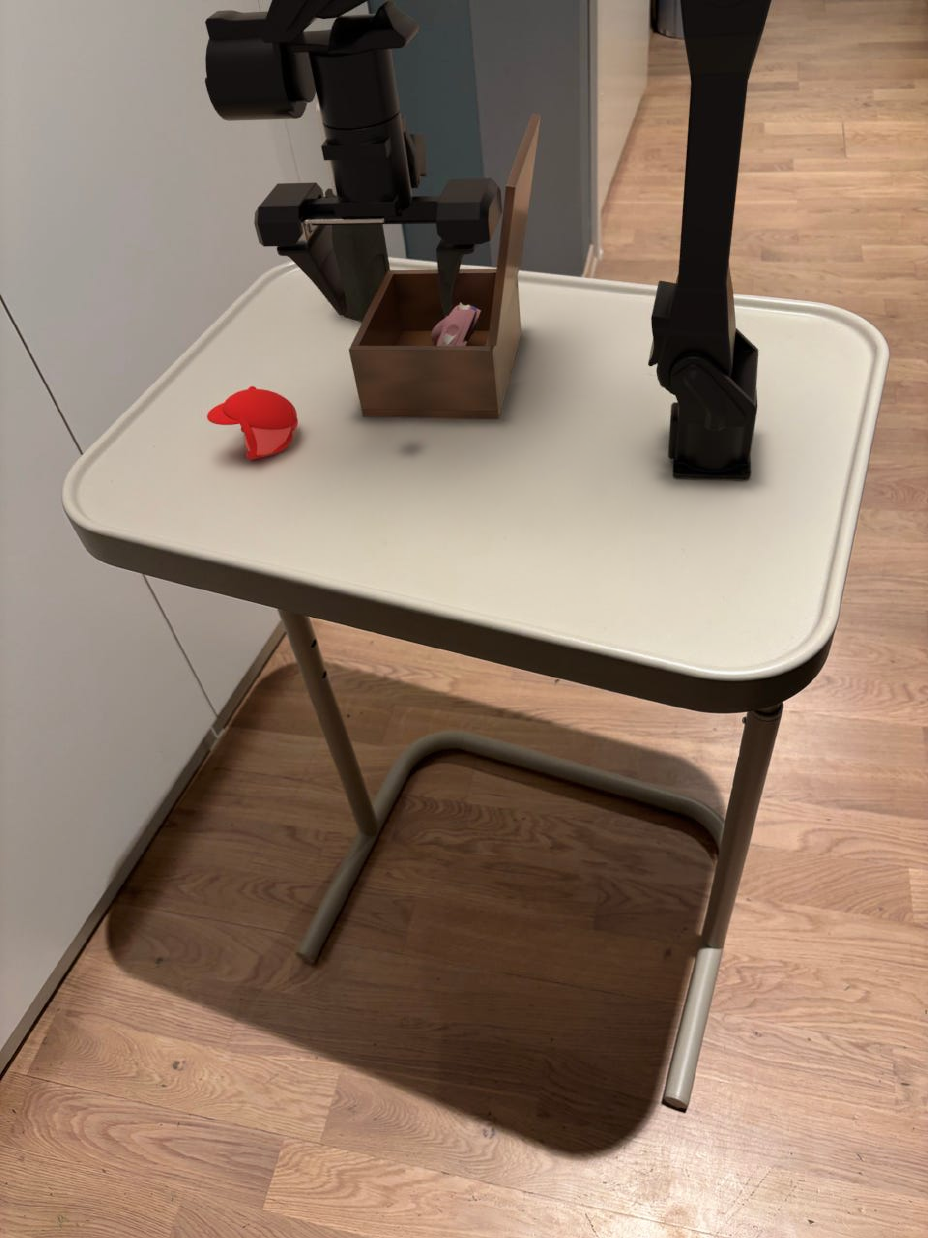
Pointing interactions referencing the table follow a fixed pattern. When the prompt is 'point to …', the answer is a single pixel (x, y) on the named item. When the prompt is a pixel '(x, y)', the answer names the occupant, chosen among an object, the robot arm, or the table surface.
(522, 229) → the lid
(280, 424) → the cap
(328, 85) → the robot arm
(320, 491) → the table surface
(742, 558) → the table surface
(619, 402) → the table surface
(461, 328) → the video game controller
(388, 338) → the chest
